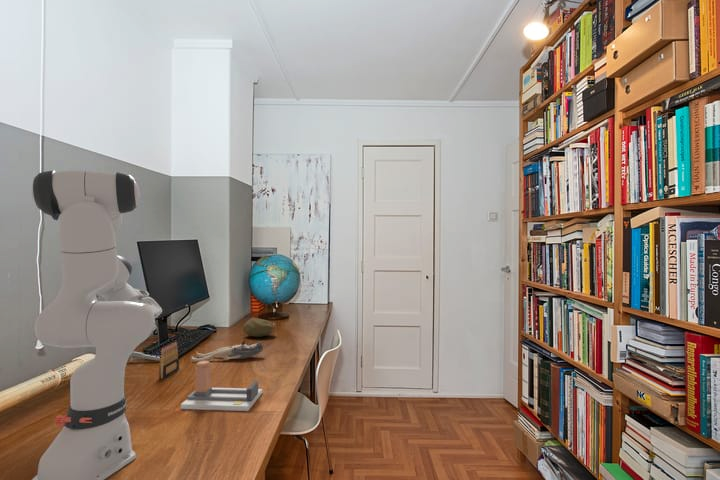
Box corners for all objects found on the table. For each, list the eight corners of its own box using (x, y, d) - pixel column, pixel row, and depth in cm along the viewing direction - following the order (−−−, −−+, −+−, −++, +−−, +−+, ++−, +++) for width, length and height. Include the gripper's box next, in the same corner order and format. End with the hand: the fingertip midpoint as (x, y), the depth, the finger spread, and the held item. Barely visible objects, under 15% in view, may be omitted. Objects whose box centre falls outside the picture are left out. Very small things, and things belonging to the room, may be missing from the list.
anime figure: (196, 346, 179) (262, 336, 182) (199, 362, 179) (265, 351, 182) (189, 353, 170) (259, 341, 173) (192, 369, 170) (262, 358, 173)
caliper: (125, 363, 170) (125, 349, 170) (126, 362, 171) (126, 348, 171) (173, 362, 171) (173, 348, 171) (174, 361, 172) (174, 347, 172)
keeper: (205, 398, 129) (205, 365, 129) (194, 397, 129) (194, 364, 129) (211, 392, 134) (211, 360, 133) (200, 392, 134) (200, 360, 134)
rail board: (248, 411, 123) (248, 393, 123) (180, 408, 125) (180, 391, 125) (262, 393, 137) (262, 377, 137) (201, 391, 139) (201, 376, 139)
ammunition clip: (163, 379, 151) (163, 348, 151) (159, 379, 151) (158, 348, 151) (179, 369, 161) (179, 340, 161) (174, 369, 162) (174, 340, 161)
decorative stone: (277, 334, 218) (277, 317, 218) (270, 340, 207) (270, 321, 207) (248, 333, 220) (248, 316, 220) (239, 339, 209) (239, 320, 209)
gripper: (110, 299, 122) (140, 331, 122) (149, 290, 143) (175, 317, 142) (96, 313, 123) (126, 345, 122) (138, 302, 143) (163, 329, 143)
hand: (153, 330), depth 132 cm, fingers closed
